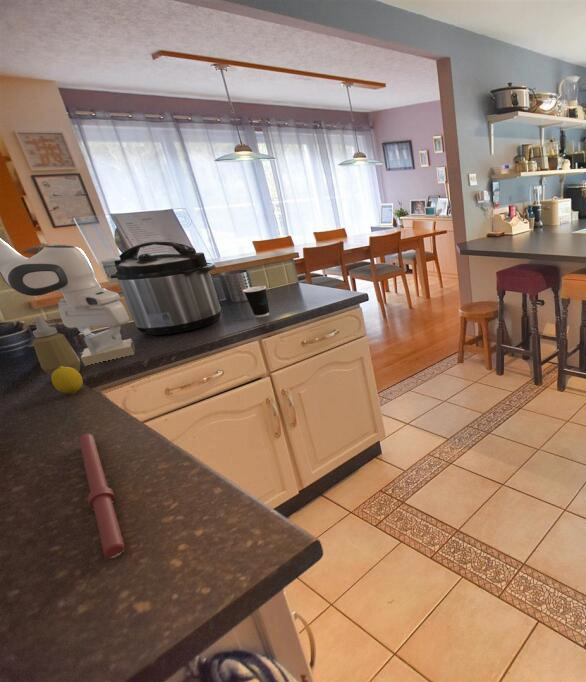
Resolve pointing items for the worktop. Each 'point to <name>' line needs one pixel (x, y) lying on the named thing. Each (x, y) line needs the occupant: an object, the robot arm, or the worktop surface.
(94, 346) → the light grey rectangular block
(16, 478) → the worktop surface
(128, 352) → the block
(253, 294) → the dixie cup
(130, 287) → the pressure cooker
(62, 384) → the lemon
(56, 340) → the squeeze bottle
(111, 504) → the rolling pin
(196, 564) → the worktop surface
